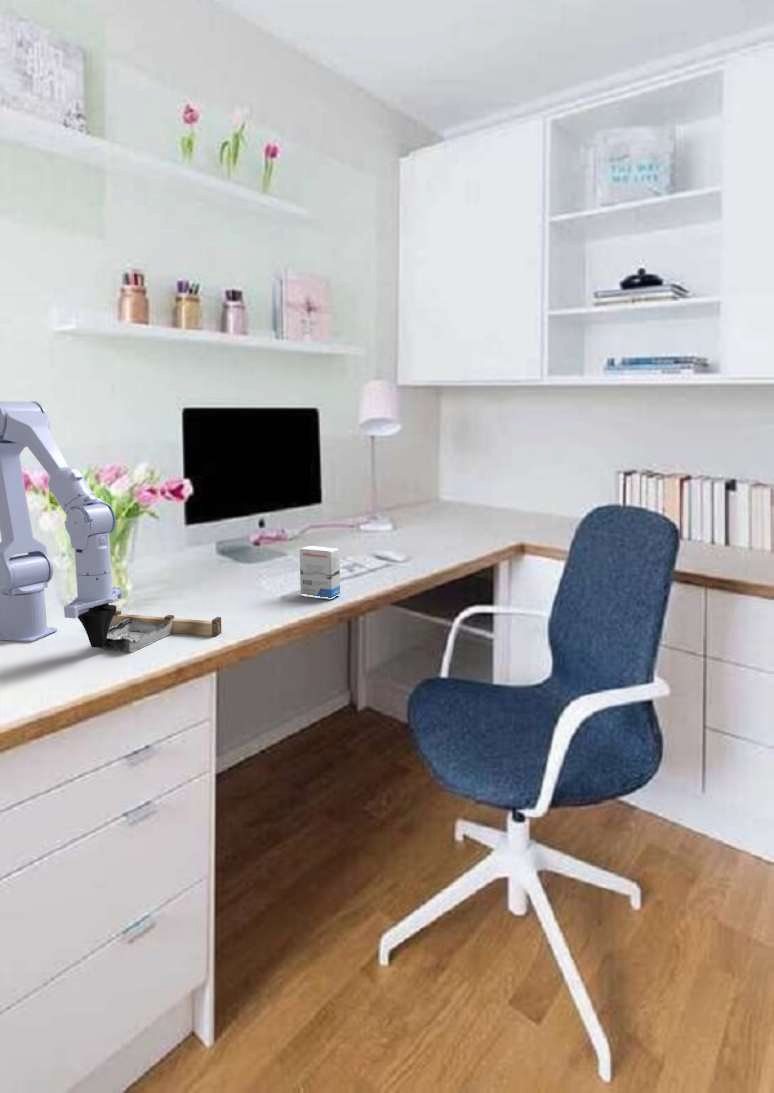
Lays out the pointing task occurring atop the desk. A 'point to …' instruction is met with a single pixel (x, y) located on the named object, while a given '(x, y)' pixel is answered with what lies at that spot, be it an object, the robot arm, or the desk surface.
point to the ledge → (175, 623)
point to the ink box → (320, 571)
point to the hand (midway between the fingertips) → (98, 646)
